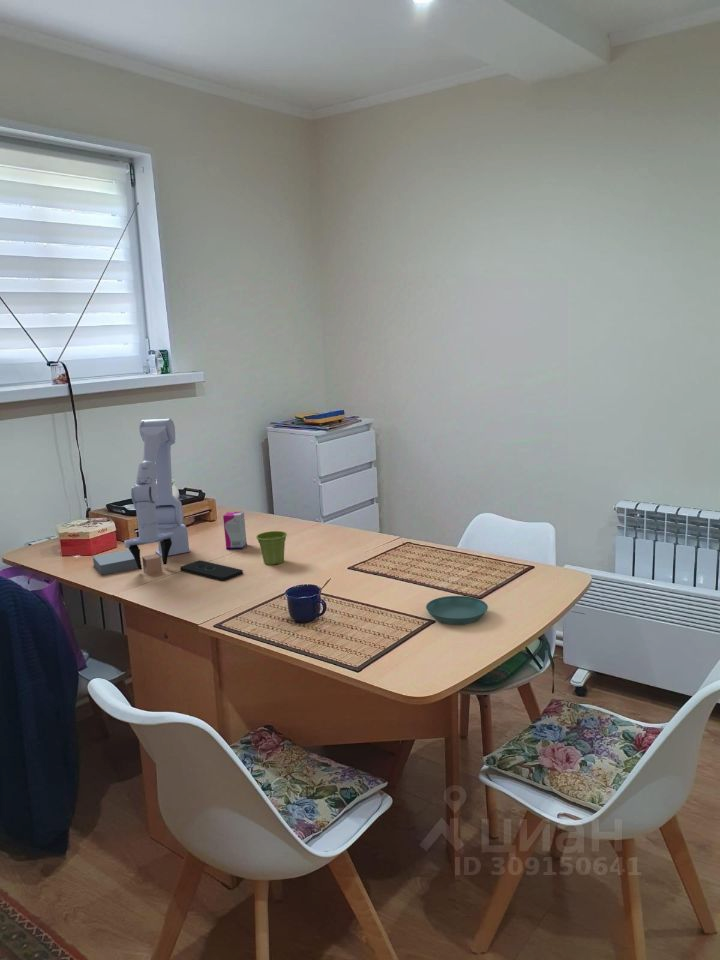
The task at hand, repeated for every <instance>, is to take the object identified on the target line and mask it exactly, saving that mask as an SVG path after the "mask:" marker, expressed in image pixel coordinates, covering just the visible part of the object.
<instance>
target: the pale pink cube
mask: <svg viewBox="0 0 720 960" xmlns="http://www.w3.org/2000/svg"><path fill="white" fill-rule="evenodd" d="M141 559H142V569H143V571H144V572H145V574H147V575H150V574H154V573H158V572H163V563H162V557H161V556H160V555H159V554H158V553H155V554H154V553H153V554H149V555H148V554H147V555H143V556H142V555H141Z"/></svg>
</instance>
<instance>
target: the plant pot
mask: <svg viewBox="0 0 720 960" xmlns="http://www.w3.org/2000/svg"><path fill="white" fill-rule="evenodd" d="M287 536H288V533H287V532H286V531H283V530H282V531H280V530H272V531H264V532H262V533H261V532H260V533H258V534H256V536H255V537H256V540H257V541H258V543H259V547H260V551H261V555H262V560H263V564H265V565H266V566H267V565H271V566H274V565H275V564H282V563H284V561H285V545H286V544H285V542H286V538H287Z"/></svg>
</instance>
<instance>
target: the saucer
mask: <svg viewBox="0 0 720 960" xmlns="http://www.w3.org/2000/svg"><path fill="white" fill-rule="evenodd" d="M425 609H426V610H427V612H428V613H429V615H430V616H431V617H433V619H435V620H436V621H437V622H440V623H442V624H447V625H454V626H455V625H468V624H471V623H475V622H477V621H478V620H480V619H481V618H482V617H483V616H484V615H485V614H486V613H487V611H488V609H489V606H488V604H487V603H486V602H485V601H483V600H482V599H479V598H476V597H472V596H466V595H446V596H440V597H437V598H434V599H432V600H431V601H429V602H428V603H426V605H425Z"/></svg>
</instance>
